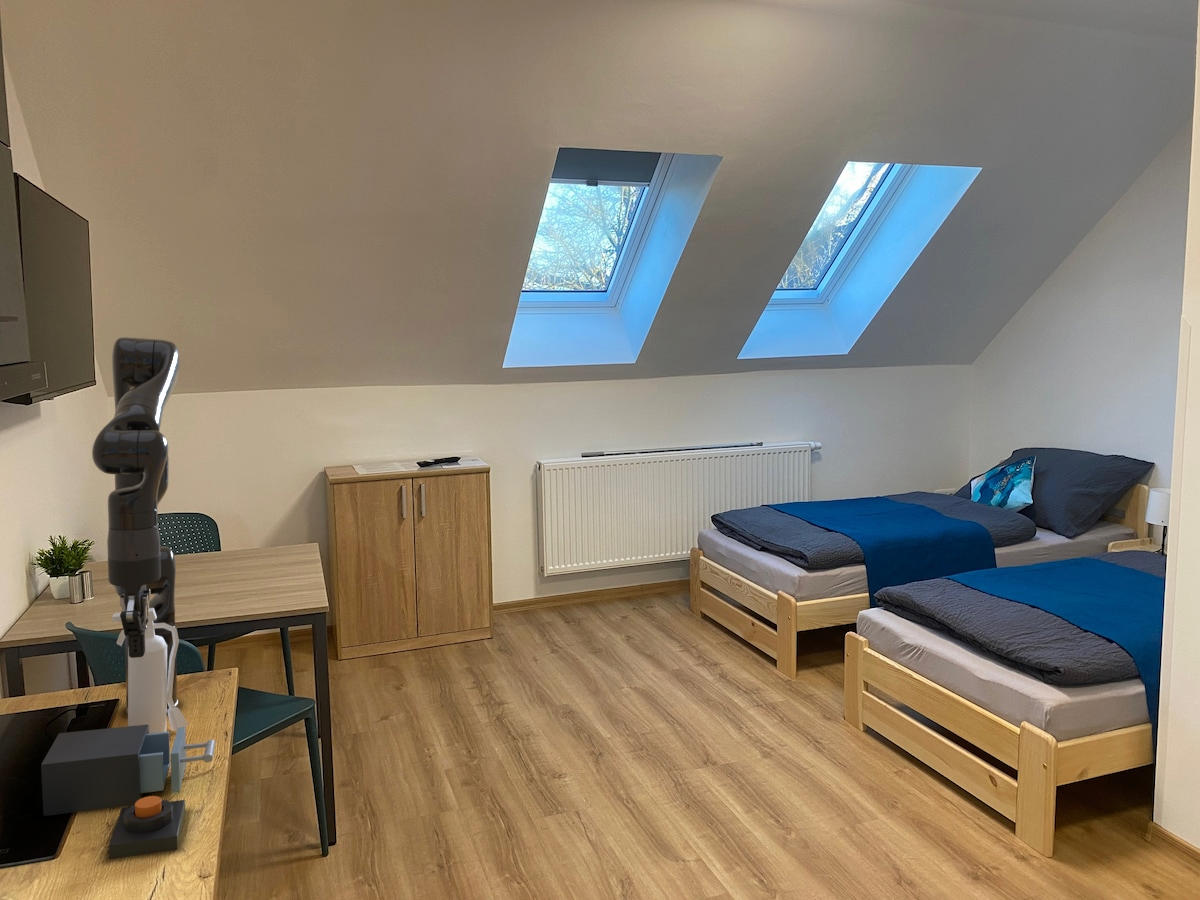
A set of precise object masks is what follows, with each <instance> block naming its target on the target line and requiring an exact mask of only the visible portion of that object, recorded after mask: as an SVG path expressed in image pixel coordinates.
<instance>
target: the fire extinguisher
mask: <svg viewBox="0 0 1200 900" xmlns="http://www.w3.org/2000/svg"><path fill="white" fill-rule="evenodd" d="M120 614H121V612H114V613H113V614H112V617H111V622H112V623H122V621H121V617H120ZM156 618H157V616H156V613H155V610H154V608H149V615H148V622H147V624H146V626H147V629H146V631H145V653H144V656H143V657H136V658H131V657H129V647H128V715H127V726H137V725H147V724H149V733H158V732H168V730H167V728H168V726H167V724H168V723H167V722H168V721H169V726H170V730H171V732H177V729H178V728H180V727H185V728H186V727H187V726H189V722H188V721H187V719H186V718H185V716H184V714H183V713H182V711H181V710H180V708H179V707H175V705H174V702H173V699H172V691H173V678H174V666H175V657H176V658H177V652H178V648H179V644H180V640H179V633H178V629H177V627H176V626H175V627H173V626H170V625H168V624H166V623H153V620H156ZM154 628H164V629H167V630H169V631H172V637H173V646H172V650H171V654H170V658H169V671H168V684H167V644H166V642H165V640H164V639H163V637H161V636H157V635H155V631H154ZM124 639H125V634H124V630H123V629H122V630H121V631H120V633H119V635H118V637H117V640H116V645H117V646H120V647H122V646H123V645H124ZM167 703H168V706H169V710H168V713H167ZM167 719H168V721H167Z"/></svg>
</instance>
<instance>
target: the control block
mask: <svg viewBox="0 0 1200 900" xmlns="http://www.w3.org/2000/svg"><path fill="white" fill-rule="evenodd" d="M161 804H162V811H161V812H160V813H159V814H156V815H154V816H151V817H144V818H141V817H136V816H135V804H134V805H130V806H123V807H121V810H120V813H119V815H118V818H117V821H116V824H115V827H114V830H113V832H112V835H111V838H110V841H109V843H108V859H109V860H114V859H121V858H128V857H137V856H141V855H142V856H143V855H149V854H156V853H163V852H170V851H177V850H178V849H179V844H180V841H181V840H180V839H181V836H182V835H181V834H182V831H183V825H184V821H185V816H186V799H180V800H172V801H171V800H170V801H169V800H168V799H161Z"/></svg>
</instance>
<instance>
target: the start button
mask: <svg viewBox="0 0 1200 900" xmlns="http://www.w3.org/2000/svg"><path fill="white" fill-rule="evenodd" d="M161 800H162V798H161V797H160V796H157V795H149V796H145V797H142V798H141V799H139V800H138V801H137V802H136V803H135V816H136V817H141V818H144V817H151V816H154V815H156V814H159V813H160V812H161V811H162V804H161Z"/></svg>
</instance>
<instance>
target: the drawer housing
mask: <svg viewBox="0 0 1200 900" xmlns="http://www.w3.org/2000/svg"><path fill="white" fill-rule="evenodd" d="M148 733H149V724H147V725H137V726H128V725H127V726H118V727H108V728H99V729H89V730H79V731H70V732H69V731H68V732H59V733H58V734H57V736H56V738H55V740H54V742H53V743H52V745H51V747H49V750H48V752H47V754H46V755H45V757H44V758H43V760H42V761H41V764H40V768H41V770H40V771H41V791H42V792H41V793H42V812H43V813H42V814H43V817H49V816H57V815H64V814H72V813H80V812H88V811H96V810H104V809H112V808H119V807H121V808H122V807H130V806H133V805H134V804H135V803H136V802H137V801H138V800H139V799H141V798H143V795H144V793H140V768H139V755H140V752H141V749H142V747H143V744H144V741H145V738H146V735H147V734H148Z"/></svg>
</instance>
